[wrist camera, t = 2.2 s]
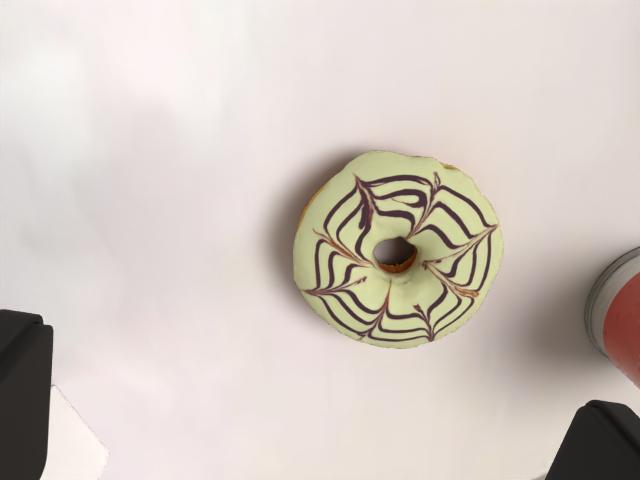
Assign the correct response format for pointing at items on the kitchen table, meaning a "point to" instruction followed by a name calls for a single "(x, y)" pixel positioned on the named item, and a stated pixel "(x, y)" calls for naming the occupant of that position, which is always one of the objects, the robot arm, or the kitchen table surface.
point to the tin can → (617, 314)
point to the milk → (71, 444)
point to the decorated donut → (388, 223)
